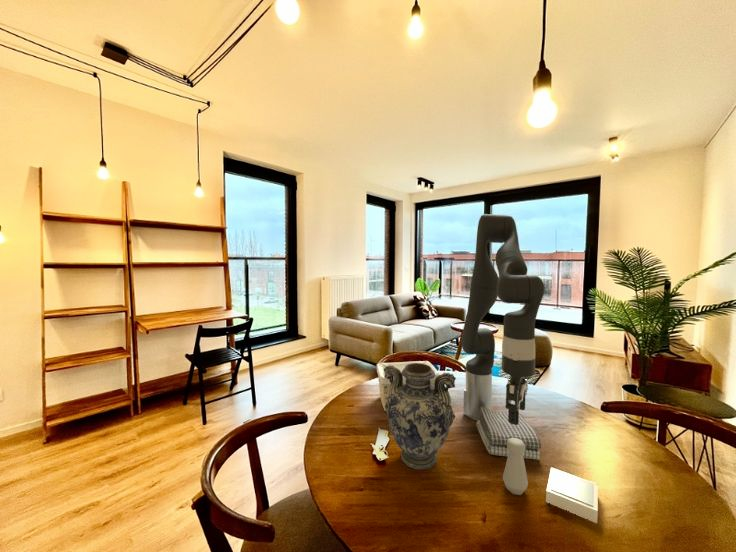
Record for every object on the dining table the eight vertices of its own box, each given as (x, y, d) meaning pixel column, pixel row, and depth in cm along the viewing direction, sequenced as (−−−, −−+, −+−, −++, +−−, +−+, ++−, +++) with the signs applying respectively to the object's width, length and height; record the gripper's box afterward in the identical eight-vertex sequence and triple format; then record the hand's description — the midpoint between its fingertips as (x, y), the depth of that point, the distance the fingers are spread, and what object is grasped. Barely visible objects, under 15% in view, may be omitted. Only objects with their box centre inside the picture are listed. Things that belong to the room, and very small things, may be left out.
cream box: (381, 414, 116) (380, 377, 115) (376, 395, 132) (375, 362, 131) (441, 410, 118) (441, 374, 117) (429, 392, 134) (429, 359, 133)
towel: (489, 459, 90) (489, 434, 89) (475, 425, 108) (475, 404, 107) (543, 463, 88) (543, 437, 87) (519, 427, 106) (520, 406, 106)
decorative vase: (457, 445, 96) (457, 360, 94) (453, 488, 78) (453, 385, 76) (392, 433, 103) (390, 354, 101) (375, 471, 85) (373, 376, 83)
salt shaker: (530, 499, 75) (532, 449, 74) (506, 496, 76) (507, 446, 75) (523, 482, 80) (524, 435, 79) (500, 479, 81) (501, 433, 81)
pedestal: (546, 502, 74) (546, 489, 74) (550, 477, 82) (551, 466, 81) (597, 523, 68) (597, 510, 67) (597, 495, 76) (597, 483, 75)
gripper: (508, 344, 84) (507, 401, 85) (495, 358, 72) (494, 423, 73) (539, 349, 79) (537, 408, 80) (530, 365, 68) (528, 434, 69)
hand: (517, 416), depth 77 cm, fingers open, 8 cm apart
